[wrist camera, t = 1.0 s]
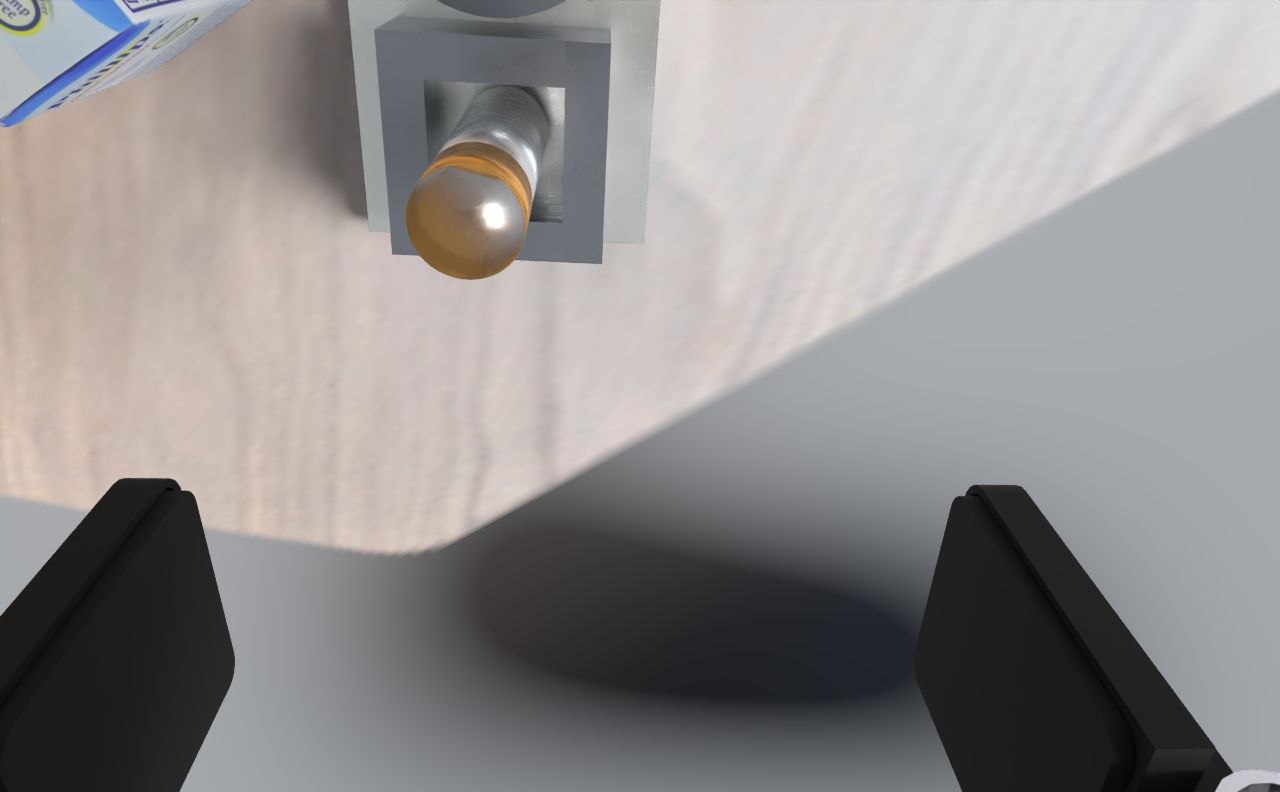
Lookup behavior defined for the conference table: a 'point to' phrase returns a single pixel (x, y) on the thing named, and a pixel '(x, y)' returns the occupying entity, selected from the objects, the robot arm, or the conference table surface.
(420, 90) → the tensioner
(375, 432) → the conference table surface
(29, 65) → the medicine box
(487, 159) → the pin
